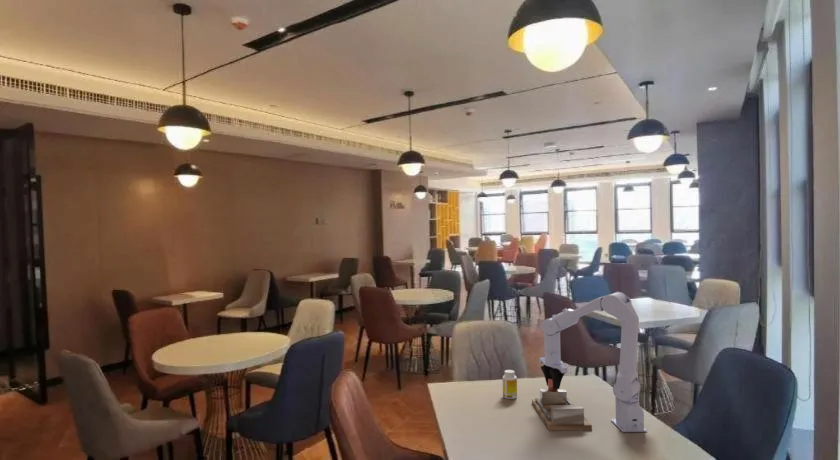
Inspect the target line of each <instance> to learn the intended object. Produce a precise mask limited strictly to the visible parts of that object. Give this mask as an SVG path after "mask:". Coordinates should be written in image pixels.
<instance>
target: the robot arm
mask: <svg viewBox="0 0 840 460" xmlns="http://www.w3.org/2000/svg"><path fill="white" fill-rule="evenodd" d="M595 311H599V312H603V311H604V312H606V314H609V315H610V316H612V317H614V318H616V319H617V321H619V322H620V324H621V329H620V331H621V332H620V333H621V334H620V348H619V349H620V352H619V370H618V372H617V375H616V381H615V383H614V385H613V386H612V393H613V395H614V396H615V399H614V400H615V418H611V419H610V420H611V422H612V424H614V425H615V426H616V427H617V428H618V429H619V430H620V431H621V432H622V433H637V432H638V433H639V432H640V433H641V432H642V433H643V432H644V433H645V432H647V431H648V430H647V429H646V428H645V421H644V420H645V418H644V416H645V414H644V409H642V407H641V406H640V398H639V395H638V393H639V392H640V390H641V383H640V381H639V373H638V372H637V362H638V361H637V359H638V343H639V341H638V340H639V323H640V321H639V320H640V318H639V315H638V314H637V312H636V309H635V308H634V306H633V304H632V300H631V298H630V297H628V296H627V295H626V294H625V293H623V292H621V291H616V292H613V293H609V294H606V295H603V296H600V297H596V298H595V299H592V300H590V301H589V302H587V303H585V304H583V305H581V306H579V307H577V308H576V309H573V308H567V307H565V308H564V309H562V311H561V312H559V313H557V314H552V315H551V317H550V318H546V319H545V320H543V321H542V323H541V330H542V332H543V335H544V339H543V341H544V343H543V344H544V356H543V357H539V359H538V360H539V361H538V362H539V364H543V365H542V366H540V370H541V371H542V373H543V376H544V379H545V382H546V386H547V387H548V378H549V377H552V381H553V388H554V389H561V387H560V386H561V384H562V380H563V378H564V375H566V374H568V367H567V366H566V365H564V362H563V360H562V359H561V358H562V355H561V351H562V350H561V332H562V331H564V330H565V329H567V328H569V327H572V326H574V325H576V324H578V322H579V321H580V318H581V317H584V316H586V315H588V314H591V313H592V312H595Z"/></svg>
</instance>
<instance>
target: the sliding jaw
mask: <svg viewBox="0 0 840 460" xmlns="http://www.w3.org/2000/svg"><path fill="white" fill-rule="evenodd" d="M547 387H548V388H540V389H539V399H540V401H541V403H542V404H567V398H568V397H567V394H568V393H567V390H566V389H565V388H559V389H554V388H553V381H552V377H549V378H548V386H547Z"/></svg>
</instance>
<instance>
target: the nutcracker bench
mask: <svg viewBox="0 0 840 460" xmlns="http://www.w3.org/2000/svg"><path fill="white" fill-rule="evenodd" d="M531 404H532V406H533V407H534V409H535V411H536V412H537V414H538V415H539V417H540V419H541V420H542V422H543V423H544V425H545V426H546V428H547V429H548V431H593V425H592V424H591V422H590V421H589V420H588V419H587V417H585V408H584V407H583V406H582V404H574V403H573V402H572V400H571V399H570V398H568V397H567V404H542V403H541V401H540V398H539V397H535V399H531Z"/></svg>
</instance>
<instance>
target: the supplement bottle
mask: <svg viewBox="0 0 840 460" xmlns="http://www.w3.org/2000/svg"><path fill="white" fill-rule="evenodd" d="M502 396H503V398H505V399H507V400H514V399H517V398H518V378H517V375H516V373H515V370H513V369H506V370H504V375H503V376H502Z"/></svg>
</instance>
